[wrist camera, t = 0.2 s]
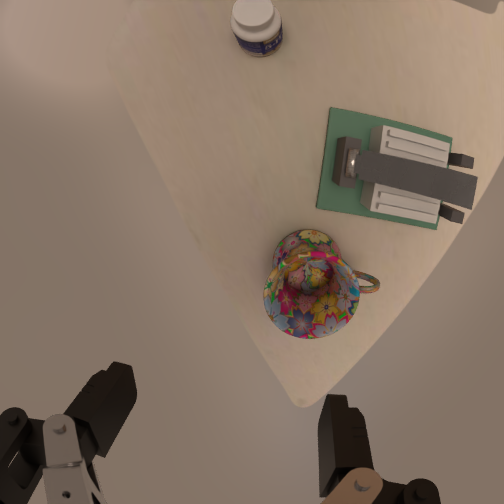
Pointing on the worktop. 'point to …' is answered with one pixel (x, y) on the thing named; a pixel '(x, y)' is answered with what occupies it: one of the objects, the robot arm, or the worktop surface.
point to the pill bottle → (257, 26)
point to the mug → (312, 286)
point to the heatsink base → (361, 132)
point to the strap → (413, 176)
